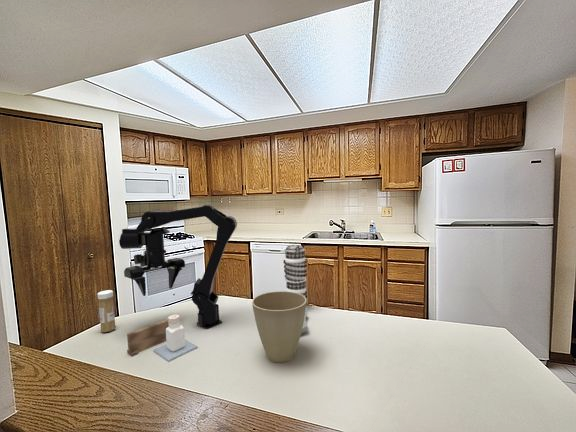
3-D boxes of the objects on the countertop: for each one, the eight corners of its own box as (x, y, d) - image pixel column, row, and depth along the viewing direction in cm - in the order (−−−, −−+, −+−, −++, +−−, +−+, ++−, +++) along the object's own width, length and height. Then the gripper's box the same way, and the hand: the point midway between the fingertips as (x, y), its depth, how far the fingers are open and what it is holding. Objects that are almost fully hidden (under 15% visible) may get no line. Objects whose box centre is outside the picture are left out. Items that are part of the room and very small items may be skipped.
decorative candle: (301, 315, 105) (299, 248, 103) (280, 310, 110) (278, 247, 108) (312, 307, 113) (310, 244, 111) (292, 303, 118) (290, 243, 116)
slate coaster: (181, 339, 90) (181, 337, 90) (197, 348, 84) (197, 346, 84) (153, 351, 83) (153, 349, 83) (168, 362, 77) (168, 360, 77)
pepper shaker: (185, 347, 84) (183, 315, 83) (172, 353, 81) (170, 320, 80) (178, 343, 86) (176, 312, 86) (165, 348, 83) (163, 317, 83)
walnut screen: (172, 334, 94) (171, 316, 93) (177, 337, 92) (176, 318, 91) (127, 352, 83) (125, 333, 83) (131, 356, 81) (130, 336, 80)
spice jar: (116, 330, 98) (113, 292, 97) (100, 334, 95) (97, 294, 94) (115, 325, 102) (112, 288, 101) (100, 329, 99) (97, 291, 98)
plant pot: (298, 376, 69) (296, 313, 68) (244, 366, 74) (242, 307, 73) (314, 346, 83) (312, 293, 82) (267, 339, 88) (265, 288, 87)
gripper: (169, 241, 110) (171, 281, 111) (116, 249, 95) (119, 295, 97) (184, 244, 103) (187, 286, 104) (129, 253, 88) (133, 302, 89)
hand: (157, 291), depth 98 cm, fingers open, 9 cm apart
